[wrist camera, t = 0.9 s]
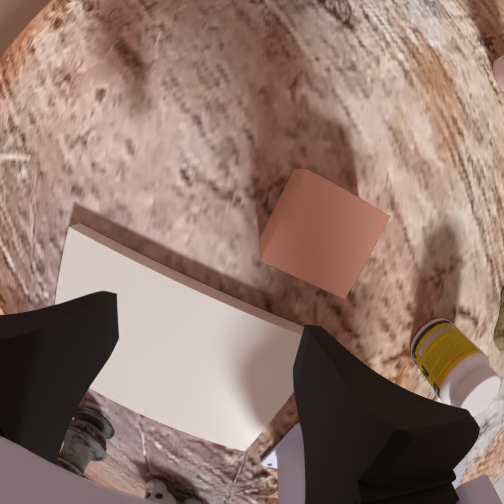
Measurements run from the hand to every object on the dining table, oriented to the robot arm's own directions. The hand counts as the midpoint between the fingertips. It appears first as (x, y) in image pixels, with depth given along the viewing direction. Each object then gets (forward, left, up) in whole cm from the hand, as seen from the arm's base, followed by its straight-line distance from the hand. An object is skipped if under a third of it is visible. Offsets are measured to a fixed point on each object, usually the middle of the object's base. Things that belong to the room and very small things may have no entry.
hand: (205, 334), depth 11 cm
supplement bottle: (-19, -1, -10) cm, 21 cm away
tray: (+1, +9, -10) cm, 13 cm away
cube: (-4, -5, -10) cm, 11 cm away
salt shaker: (+6, +24, -10) cm, 27 cm away
